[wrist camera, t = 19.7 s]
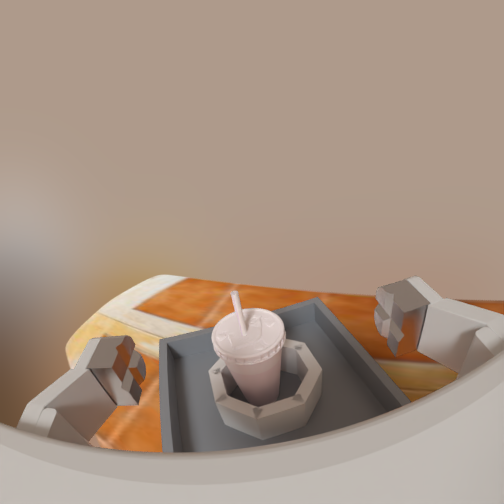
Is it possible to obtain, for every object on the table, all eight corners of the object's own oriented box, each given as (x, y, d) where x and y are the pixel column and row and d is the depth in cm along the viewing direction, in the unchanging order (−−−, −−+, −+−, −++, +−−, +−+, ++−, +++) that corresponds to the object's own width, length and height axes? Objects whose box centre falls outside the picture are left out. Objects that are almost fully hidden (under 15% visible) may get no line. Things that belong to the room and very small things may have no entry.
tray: (318, 319, 39) (317, 289, 37) (408, 432, 19) (423, 404, 17) (169, 360, 35) (156, 332, 33) (185, 510, 16) (162, 496, 13)
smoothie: (222, 405, 26) (180, 305, 20) (249, 365, 31) (224, 263, 25) (277, 424, 23) (256, 323, 17) (300, 378, 28) (292, 271, 22)
